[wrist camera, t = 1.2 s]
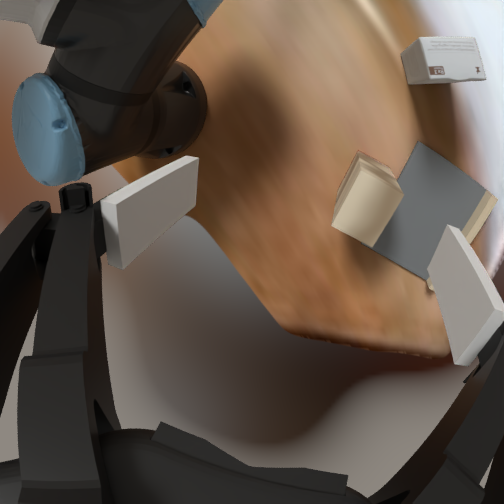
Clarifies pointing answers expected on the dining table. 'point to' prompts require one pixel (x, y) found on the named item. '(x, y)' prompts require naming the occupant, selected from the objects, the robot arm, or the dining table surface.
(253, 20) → the dining table surface
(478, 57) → the skincare box
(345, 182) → the beech block
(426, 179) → the slate mat
